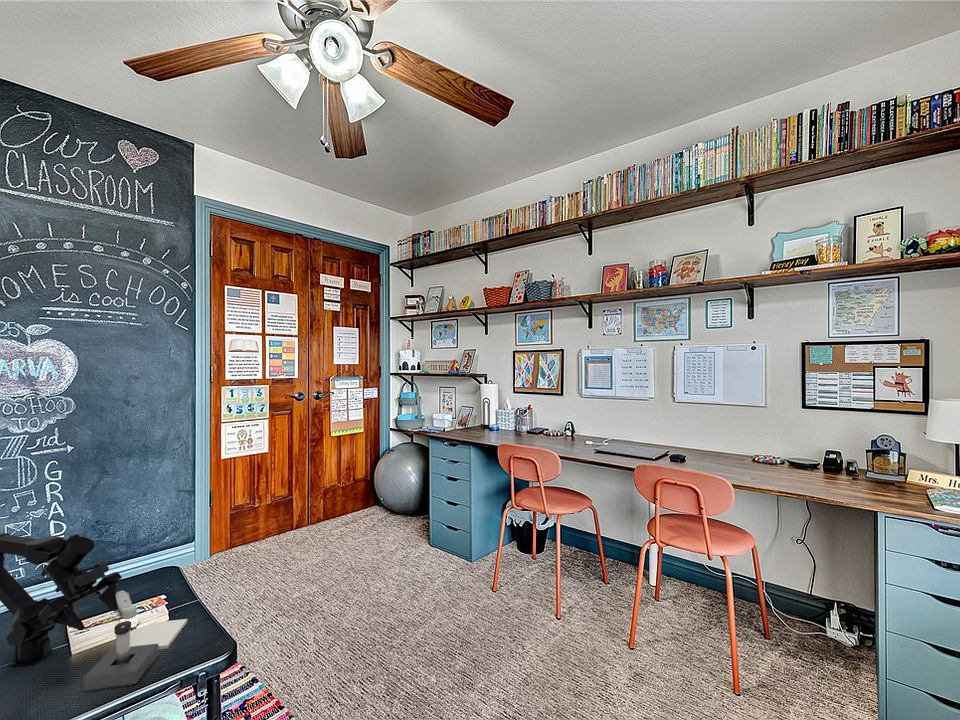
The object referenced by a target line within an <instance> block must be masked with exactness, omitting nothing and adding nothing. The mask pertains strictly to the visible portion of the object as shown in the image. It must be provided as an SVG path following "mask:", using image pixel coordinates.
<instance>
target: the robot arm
mask: <svg viewBox="0 0 960 720" xmlns="http://www.w3.org/2000/svg"><path fill="white" fill-rule="evenodd" d="M94 549H95V542H94V541H93V539H91V538H88V537H85V536H80V535H79V534H74V535H70V536H69V537H68V538H67V540H66V539H64V537H61V536H49V537H43V538H32V537H26V536H19V535H12V534H10V533H8V532H5V533H4V532H3V533H0V603H2V604H3V606H4V607H6V609H7V610H8V611H9V613H11V614H12V616H13V618H12V626H11V627H12V628H13V629H12V631H10V633H9V634H8V635H7V636H6V641H7V644H8V645H9V646H14V660H13V662H11V663H10V665H9V666H10V667H17V666H26V665H34V664H38V663H39V662H40V661H41V660H43V658H45V657H46V656H47V655H49V654H50V653H51V652H52V651H53V647H51V638H50V637H49V632H50V631H52V630H55V629H56V625H57V624H58V625H63V626H66V627H69V628H72V629H76V630H79V631H84V630H85V628H86V627H85V625H84V623H83V621H82V620H81V619H80V617H79V616H78V615H77V614H76V612H75V610H74V604H76V603H78V602H80V601H82V600H83V599H85V598H88V597H90V596H92V595H94V594H96V595H99V596H98V599H99V600H100V601H101V602H102V603H103V604H105V605H106V606H107V607H108V608H109V609H110V610H112V611H113V612H117V611H119V608H118V605H117V600H116V588H117V585H119V583H120V581H121V580H122V579H123V576H122V575H121V573H119V572H118V571H115V572H112V573H109V574H107V575H106V573H107V572H108V571H109V570H110V568H109V565H108V563H106V562H105V561H104V560H103V561H101V562H99V563H96V564H94V565H93V569H91V570H89V571H88V569H85V568H83V569H80V567H79V565H80V564H82V563H83V561H85V559H86V558H87V557H88V556H89V555H90V554H91V552H92V551H93V550H94ZM5 554H8V555H14V556H19V557H24V559H25V561H26V562H27V563H30V564H31V565H32V564H33V565H35V566H39V565H42V564H45V563H47V562H49V564H46V565H44V566H43V568H42V571H41V575H40V576H41V577H42V578H43V577H46V576H48V577H49V578H50V580H52V582H53V583H54V585H55V586H56V588H55V589H54V591H55V592H56V593H60V592H61V594H62V595H63V596H60V597H59V598H56V599H55V600H52V601H51V602H50V600H49V599H48V598H42V599H40V600H35V599H34V598H33V597H32V596H31V595H30V594H29V593H28V592H27V590H26V589H25V588H24V587H23V586H22V585H21V584H20V583H19V582H18V581H17V580H16V579H15V578H14V576H12V574H11V573H10V572H9V571H8V570H7V569H6V567H5V566H4V564H5V559H6V556H5ZM100 578H101V579H100ZM98 579H100V580H99V581H98ZM97 582H98V583H97Z"/></svg>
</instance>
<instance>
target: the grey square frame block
mask: <svg viewBox="0 0 960 720" xmlns="http://www.w3.org/2000/svg"><path fill="white" fill-rule="evenodd" d="M158 657H159V650H158V644H149V645H140V646H131V647H130V661H129V662H128V664H120V665H116V647H115V648H111V649H110V650H109V651H107V652H106V654H104V655H103V657H102V658H101V659H100V660H99V661H98V662H97V663H96V664H95V665H93V667H92V668H91V669H90V670H89V671H88V672H87V673H86V675H84V677H83V692H88V691H96V690H103V688H105V689H109V688H108V687H113V686H114V687H113V688H118V687H117V686H121V687H126V685H129V686H133V685H132V684H136V683H137V682H138V681H139V682H140V680H141V679H142V678H141V676H142V675H143V674H144V673H145V674H146V672H147V671H148V670H149V669H148V668H150V667H151V666H152V665H151V664H154V662H155V661H156V660H157V658H158ZM154 660H155V661H154ZM150 665H151V666H150ZM149 666H150V667H149ZM147 669H148V670H147ZM146 670H147V671H146ZM145 671H146V672H145ZM145 674H144V675H145ZM144 675H143V676H144ZM143 676H142V677H143ZM140 678H141V679H140ZM139 679H140V680H139ZM137 684H138V683H137ZM137 684H136V685H137Z"/></svg>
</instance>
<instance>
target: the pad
mask: <svg viewBox="0 0 960 720" xmlns="http://www.w3.org/2000/svg"><path fill="white" fill-rule="evenodd" d="M150 623H151V624H149V625H146V626H143V627H140V628H136V627H135V628H136V629H135V628H133V630H132V631H130V647H131V646H140V645H149V644H158V651H159V650H167V649H169V647H170V646H171V644H172V643H173V641H174V640H175V639H176V638H177V636H178V635H179V634H180V632H181V631H182V630H183V629H182V628H184V627H185V626H186V625H187V623H188V618H184V619H183V618H182V619H174V620H166V621H165V620H164V621H154V623H153V622H150Z"/></svg>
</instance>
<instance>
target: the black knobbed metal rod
mask: <svg viewBox="0 0 960 720" xmlns="http://www.w3.org/2000/svg"><path fill="white" fill-rule="evenodd" d="M131 630H132V629H131V622H130V621H125V622H121V623H119V622H118V623H117V624H116V625H115V626H114V635H115V648H116V665H120V664H128V662H129V661H130V633H131Z"/></svg>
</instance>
